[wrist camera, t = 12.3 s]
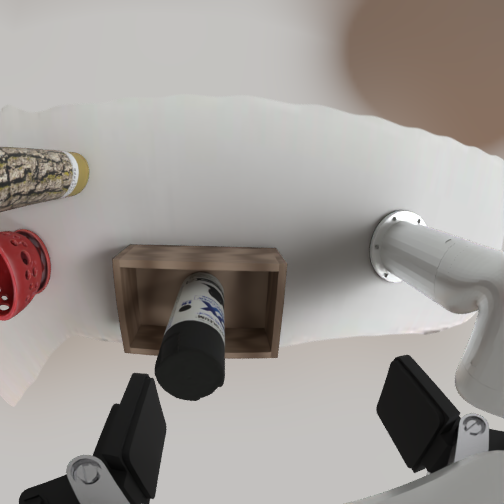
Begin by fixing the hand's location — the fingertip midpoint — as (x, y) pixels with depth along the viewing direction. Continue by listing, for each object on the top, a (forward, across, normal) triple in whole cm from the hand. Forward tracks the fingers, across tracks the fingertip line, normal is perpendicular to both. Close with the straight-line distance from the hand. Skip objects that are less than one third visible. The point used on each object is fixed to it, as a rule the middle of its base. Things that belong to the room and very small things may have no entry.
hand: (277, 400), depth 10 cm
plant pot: (+33, +38, +3) cm, 50 cm away
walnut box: (+34, +6, +9) cm, 35 cm away
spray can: (+33, +6, +9) cm, 35 cm away
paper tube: (+33, +26, -10) cm, 44 cm away
